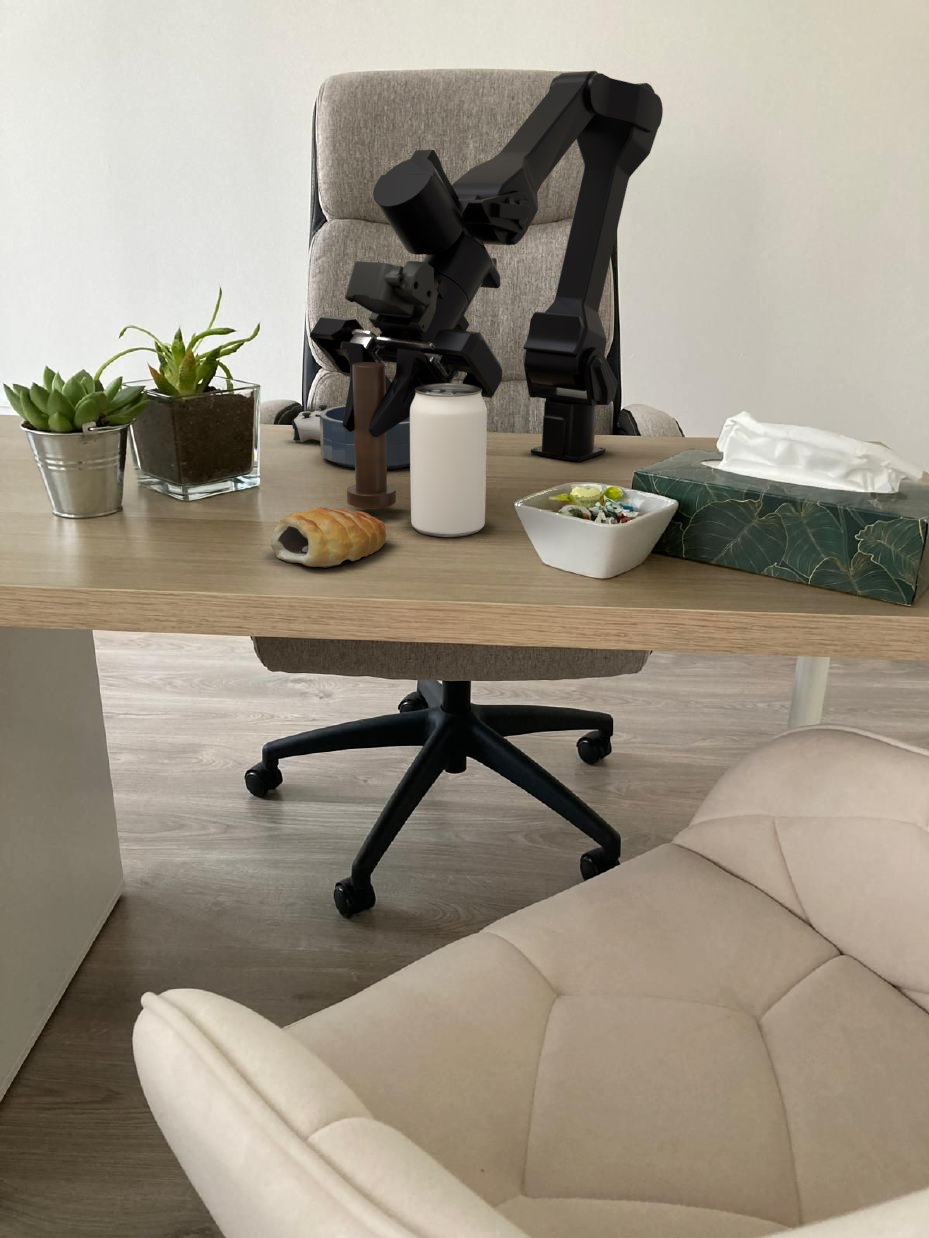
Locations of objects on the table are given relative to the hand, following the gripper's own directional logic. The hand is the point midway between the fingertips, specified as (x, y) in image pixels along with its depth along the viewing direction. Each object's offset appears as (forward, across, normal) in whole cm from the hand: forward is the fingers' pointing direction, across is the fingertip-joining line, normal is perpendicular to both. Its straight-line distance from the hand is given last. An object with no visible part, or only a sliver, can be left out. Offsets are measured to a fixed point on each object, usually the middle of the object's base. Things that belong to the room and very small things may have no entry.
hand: (359, 431), depth 89 cm
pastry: (+12, +5, -1) cm, 13 cm away
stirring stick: (+4, 0, +6) cm, 7 cm away
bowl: (-7, -15, +18) cm, 24 cm away
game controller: (-10, -27, +21) cm, 35 cm away
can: (+4, +8, +8) cm, 12 cm away
